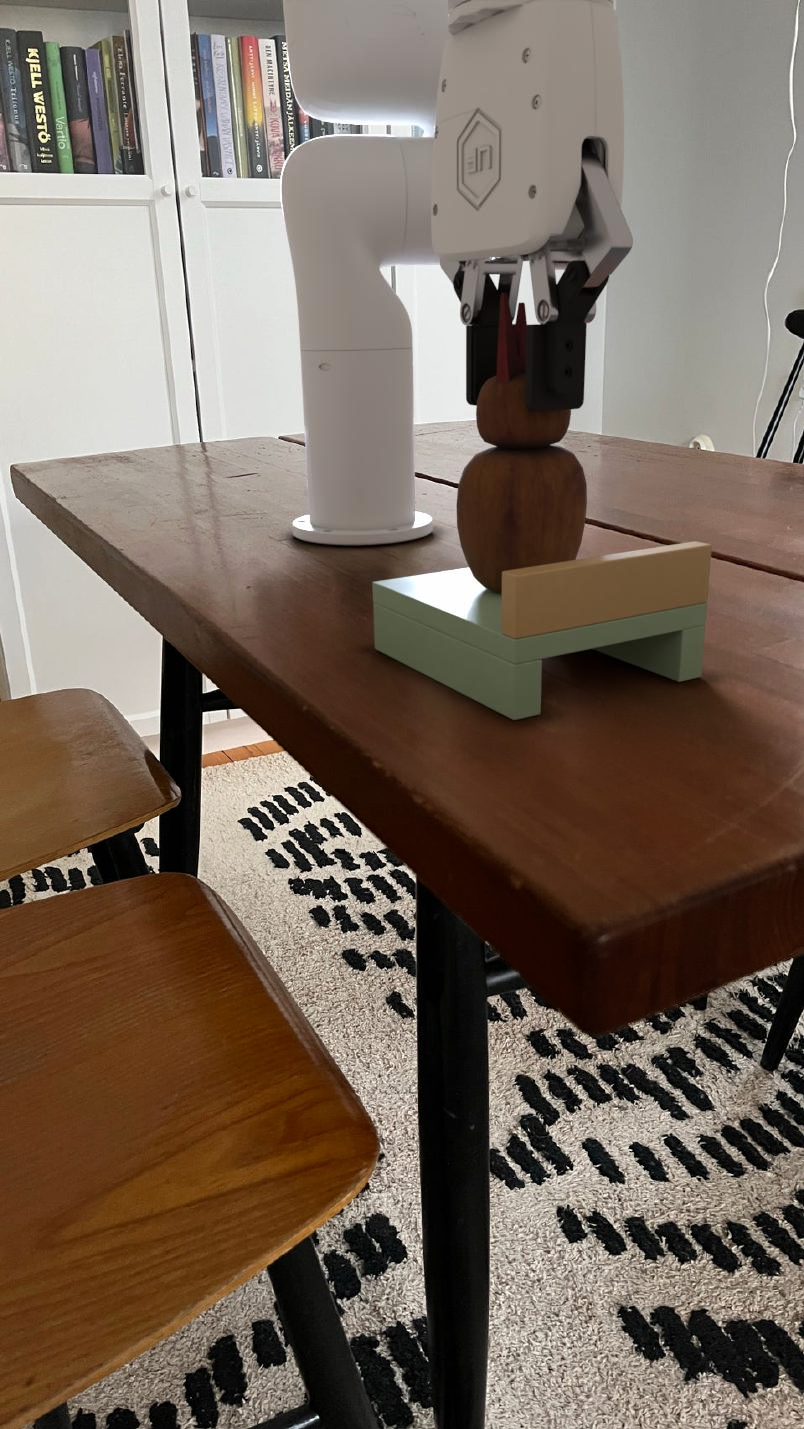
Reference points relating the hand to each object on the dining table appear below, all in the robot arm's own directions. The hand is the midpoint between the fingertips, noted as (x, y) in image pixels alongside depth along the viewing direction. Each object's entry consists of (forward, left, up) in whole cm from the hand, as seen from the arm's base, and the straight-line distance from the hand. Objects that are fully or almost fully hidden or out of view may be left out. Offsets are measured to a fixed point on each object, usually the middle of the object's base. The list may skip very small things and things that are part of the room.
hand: (523, 402), depth 54 cm
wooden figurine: (0, 0, -10) cm, 10 cm away
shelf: (+1, 0, -14) cm, 14 cm away
